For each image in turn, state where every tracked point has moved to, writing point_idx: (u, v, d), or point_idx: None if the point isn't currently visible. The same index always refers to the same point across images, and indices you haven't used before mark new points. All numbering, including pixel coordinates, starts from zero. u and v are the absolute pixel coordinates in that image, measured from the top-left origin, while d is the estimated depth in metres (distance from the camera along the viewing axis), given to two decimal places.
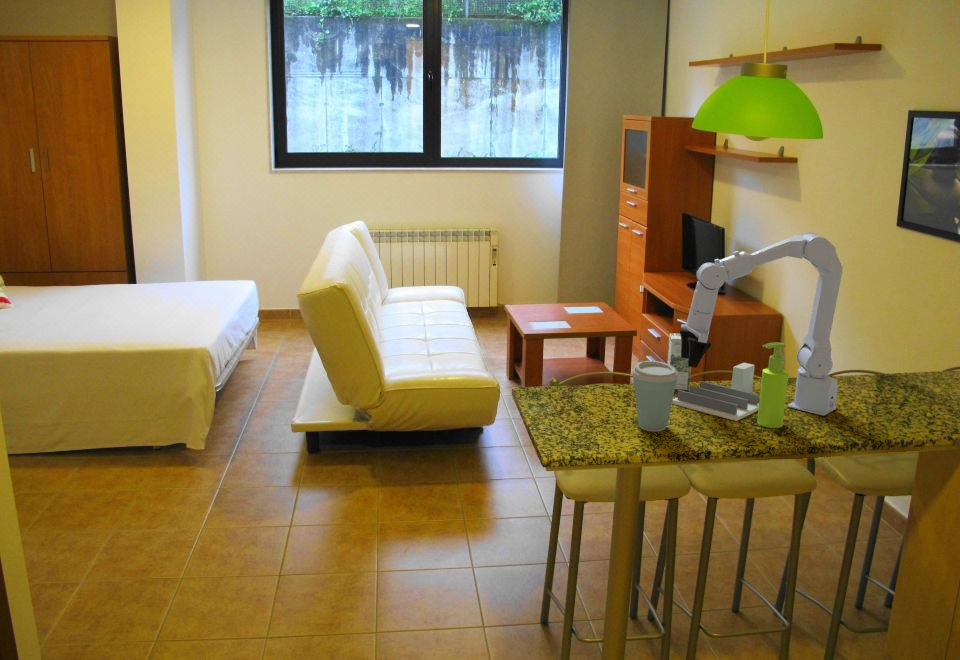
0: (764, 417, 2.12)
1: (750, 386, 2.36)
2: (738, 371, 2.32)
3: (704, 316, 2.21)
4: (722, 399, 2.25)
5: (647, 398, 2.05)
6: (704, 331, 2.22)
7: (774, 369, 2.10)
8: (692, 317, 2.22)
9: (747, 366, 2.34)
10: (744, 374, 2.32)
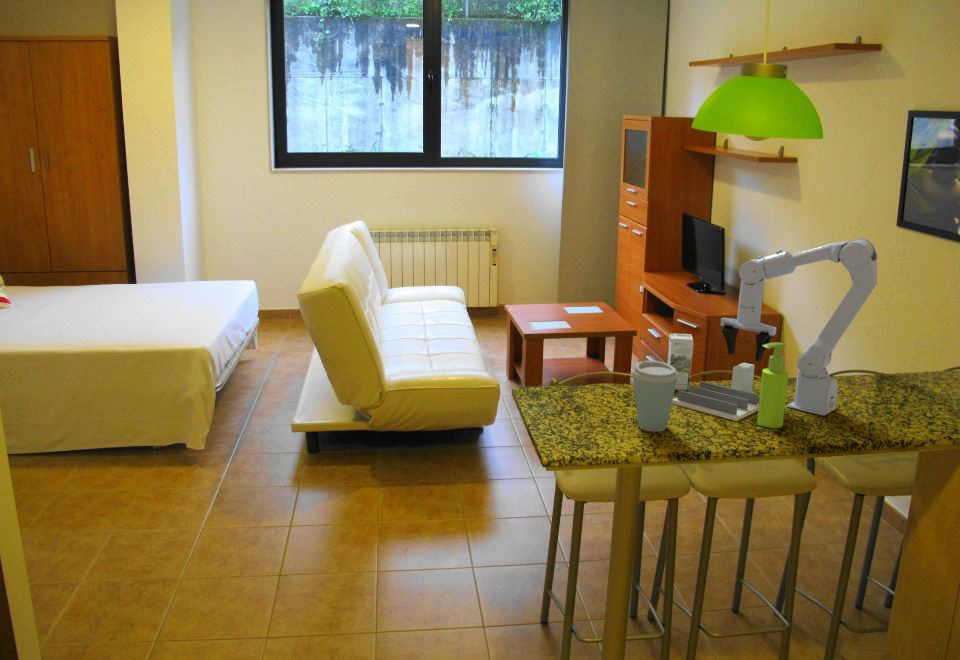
0: (764, 417, 2.12)
1: (750, 386, 2.36)
2: (738, 371, 2.32)
3: (760, 310, 2.29)
4: (722, 399, 2.25)
5: (647, 398, 2.05)
6: (760, 324, 2.31)
7: (774, 369, 2.10)
8: (751, 315, 2.28)
9: (747, 366, 2.34)
10: (744, 374, 2.32)
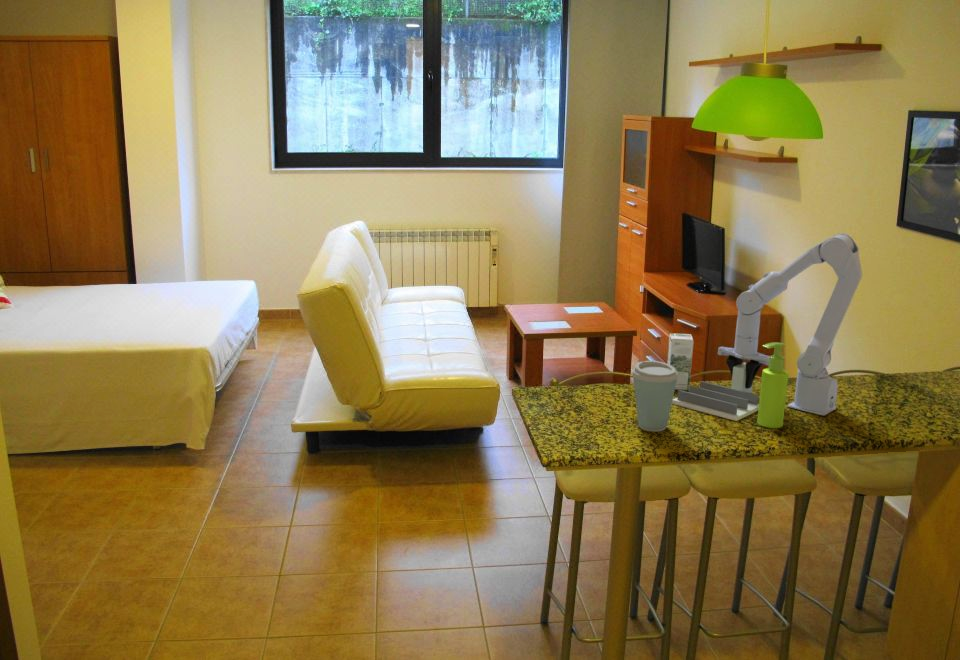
0: (764, 417, 2.12)
1: None
2: (738, 371, 2.32)
3: (757, 340, 2.31)
4: (722, 399, 2.25)
5: (647, 398, 2.05)
6: (757, 353, 2.33)
7: (774, 369, 2.10)
8: (748, 345, 2.30)
9: None
10: (744, 374, 2.32)
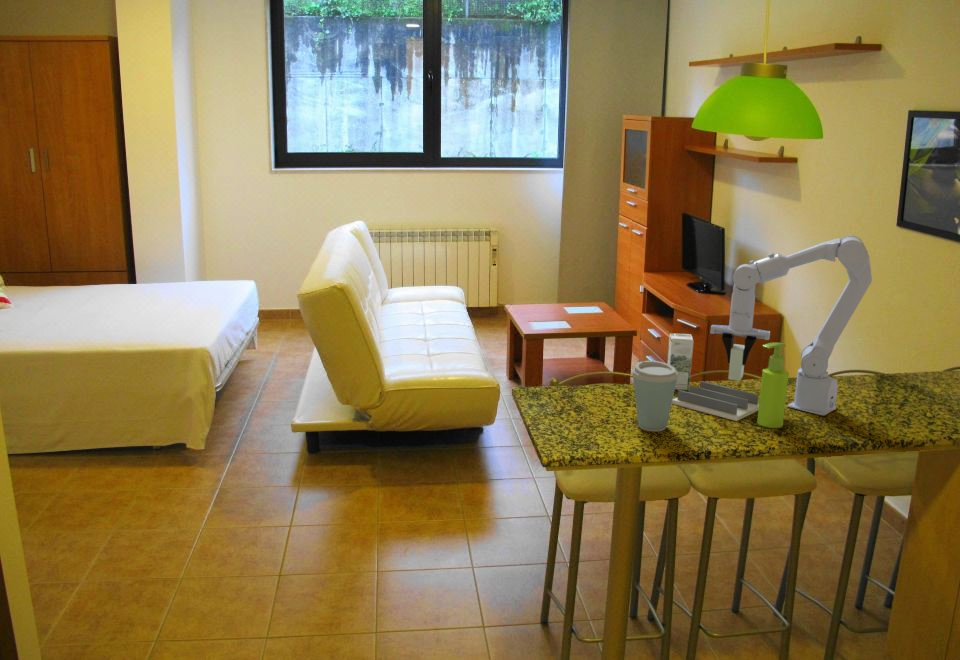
0: (764, 417, 2.12)
1: (743, 367, 2.32)
2: (737, 353, 2.28)
3: None
4: (722, 399, 2.25)
5: (647, 398, 2.05)
6: (751, 329, 2.29)
7: (774, 369, 2.10)
8: (747, 321, 2.26)
9: (742, 347, 2.30)
10: (742, 356, 2.28)
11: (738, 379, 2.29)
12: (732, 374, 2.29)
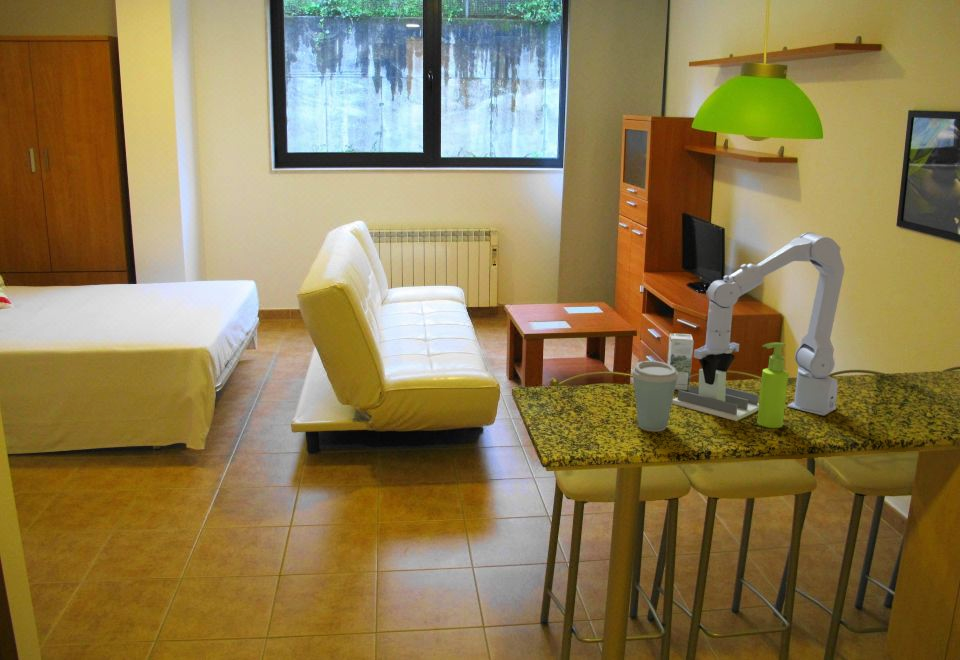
0: (764, 417, 2.12)
1: None
2: (722, 376, 2.21)
3: None
4: None
5: (647, 398, 2.05)
6: None
7: (774, 369, 2.10)
8: None
9: None
10: None
11: None
12: (719, 399, 2.22)
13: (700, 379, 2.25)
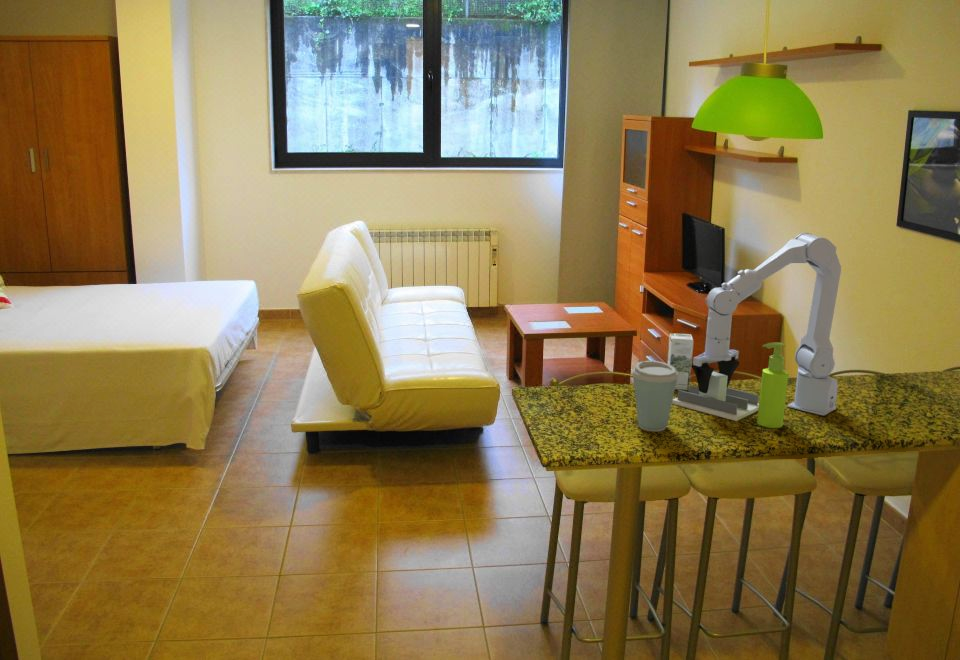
0: (764, 417, 2.12)
1: None
2: (724, 380, 2.21)
3: None
4: None
5: (647, 398, 2.05)
6: None
7: (774, 369, 2.10)
8: None
9: (716, 373, 2.24)
10: None
11: None
12: None
13: None
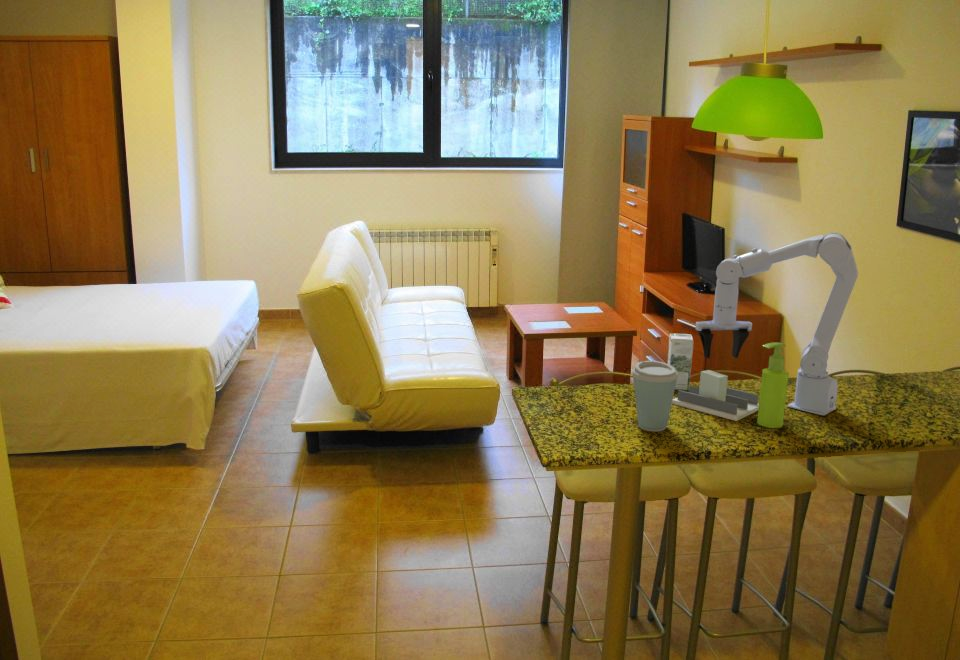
0: (764, 417, 2.12)
1: None
2: (724, 380, 2.21)
3: None
4: None
5: (647, 398, 2.05)
6: None
7: (774, 369, 2.10)
8: (734, 314, 2.28)
9: (716, 373, 2.24)
10: None
11: None
12: None
13: (701, 381, 2.25)
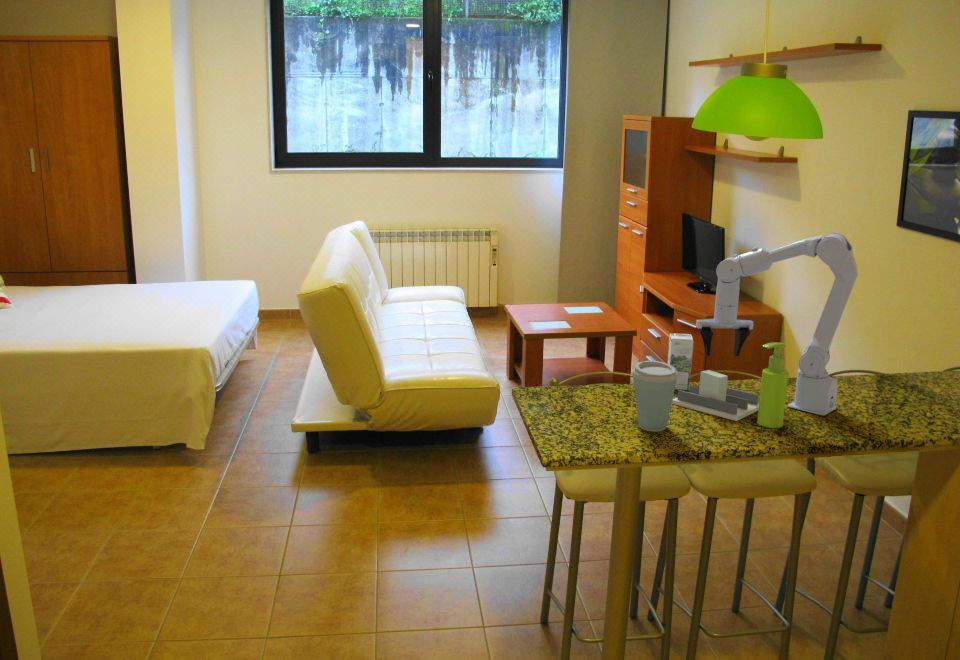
0: (764, 417, 2.12)
1: None
2: (724, 380, 2.21)
3: None
4: None
5: (647, 398, 2.05)
6: None
7: (774, 369, 2.10)
8: (735, 312, 2.30)
9: (716, 373, 2.24)
10: None
11: None
12: None
13: (701, 381, 2.25)
